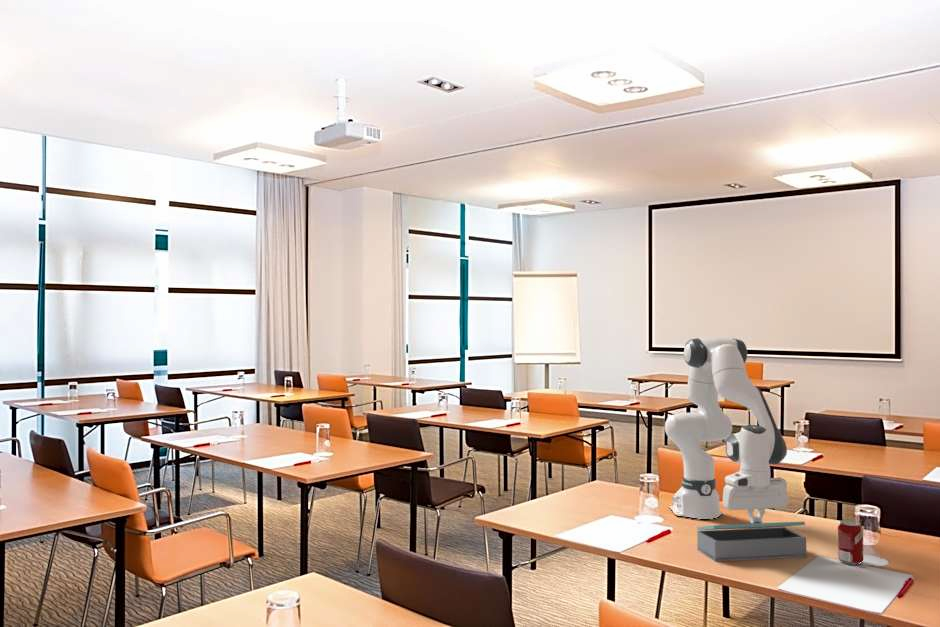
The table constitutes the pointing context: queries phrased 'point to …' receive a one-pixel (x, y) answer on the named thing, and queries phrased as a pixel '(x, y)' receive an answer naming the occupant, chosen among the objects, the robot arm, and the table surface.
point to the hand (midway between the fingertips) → (755, 523)
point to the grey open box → (751, 544)
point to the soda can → (850, 542)
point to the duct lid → (750, 525)
